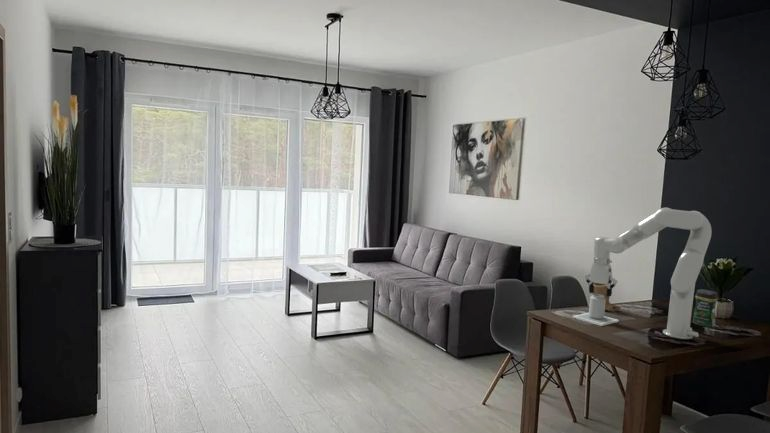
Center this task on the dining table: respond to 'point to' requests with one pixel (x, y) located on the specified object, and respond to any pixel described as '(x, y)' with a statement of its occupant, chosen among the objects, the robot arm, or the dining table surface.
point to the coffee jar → (705, 308)
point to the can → (597, 306)
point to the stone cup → (602, 290)
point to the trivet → (596, 321)
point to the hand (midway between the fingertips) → (600, 294)
